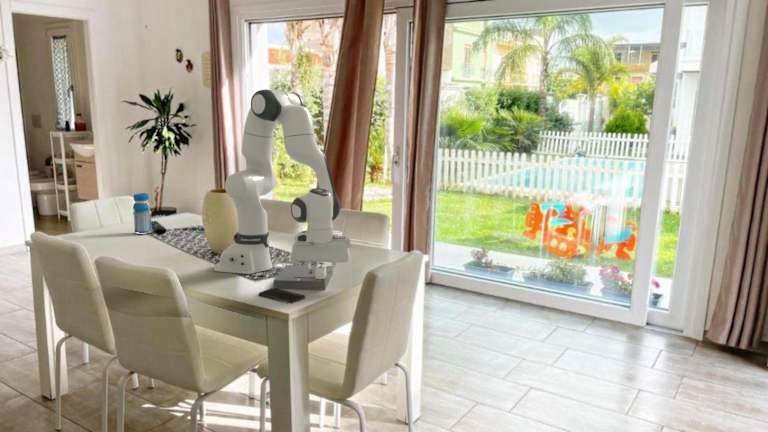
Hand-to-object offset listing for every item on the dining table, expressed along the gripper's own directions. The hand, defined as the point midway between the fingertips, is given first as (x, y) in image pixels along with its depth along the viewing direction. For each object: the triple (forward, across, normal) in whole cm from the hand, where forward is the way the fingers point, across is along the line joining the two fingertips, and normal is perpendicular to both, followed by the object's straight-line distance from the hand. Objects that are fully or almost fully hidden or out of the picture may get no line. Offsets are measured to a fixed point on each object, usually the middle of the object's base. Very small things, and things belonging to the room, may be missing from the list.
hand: (320, 273), depth 203 cm
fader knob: (+1, 0, 0) cm, 1 cm away
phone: (+5, +11, +13) cm, 18 cm away
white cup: (+5, +2, -45) cm, 45 cm away
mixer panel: (+5, +7, -6) cm, 10 cm away
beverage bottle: (+5, +102, -80) cm, 130 cm away
